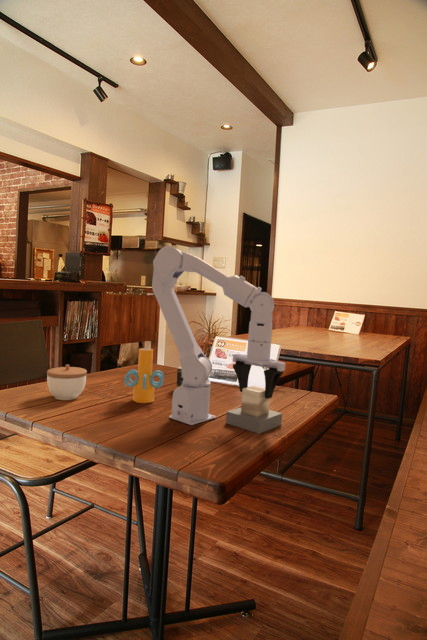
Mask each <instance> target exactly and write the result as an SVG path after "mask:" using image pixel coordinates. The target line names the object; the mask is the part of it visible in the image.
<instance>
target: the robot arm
mask: <svg viewBox="0 0 427 640" xmlns="http://www.w3.org/2000/svg"><path fill="white" fill-rule="evenodd" d="M152 264H153V273H152V280H151V281H152V282H151V289H152V292H153V294H154V296H155V298H156V301H157V303H158V306H159V308H160V310H161V313H162V315H163V317H164V319H165V322H166V324H167V326H168V329H169V331H170V334H171V336H172V338H173V340H174V343H175V345H176V348H177V350H178V353H179V356H178V359H179V363H180V365H181V366H180V367H182V377H183V379H184V380H183V382H182V385H181V386H180V387H178V388H175V389H174V390H173V391H172V400H171V401H172V402H171V414H170V415H169V416H168V418H170V419H172V420H175V421H179V422H181V423H183V424H186V425H189V426H194V425H197V424H199V423H203V422H207V421H210V420H213V419H216V418H217V417H216V415H214V414H210V398H211V397H210V395H211V384H212V383H211V381H210V379H209V377H208V376H210V375H211V373H212V370H213V364H212V362H211V360H210V359H209V358H208V357H207V356H206V355H205V353H204V352H203V349H202V348H201V347H200V345H199V344H198V343H197V340H196V338H195V336H194V334H193V331H192V328H191V327H190V324H189V322H188V319H187V317H186V315H185V312H184V310H183V307H182V306H181V302H180V299H179V298H178V295H177V294H176V292H175V285H176V283H177V282H178V279H179V278H180V276H181V275H182V274H183V273H184V272H186V273H196V274H197V275H200V276H202V277H204V278H205V279H207V280H209V281H210V282H212V283H214V284H215V285H217V286H219V287H221V288H222V291H223V295H224V296H226V297H227V298H229V299H230V300H232V301H233V302H236V303H237V304H239V305H241V306H242V307H244V308H249V309H250V311H251V312H250V321H249V324H248V335H247V337H248V340H247V348H246V349H247V352H246V354H240V353H234V354H232V363H233V362H234V364H232V368H233V370H234V372H235V375H236V378H237V381H238V386H239V391H240V393H242V390H243V388H246V387H249V385H248V384H249V375H250V372H251V368H252V366H256V367H261V368H266V369H265V370H263V373H264V374H263V375H264V380H265V381H264V383H265V386H264V388H265V398H266V399H269V398H270V399H272V398H273V394H274V391H275V389H276V386H277V384H278V382H279V380H280V378H281V377H282V375H283V373H284V371H286V362H283V361H279V360H275V359H273V358H271V350H272V349H271V347H272V335H273V322H272V321H273V311H274V309H275V301H274V298H273V297H272V296H271V295H270V294H269V293H268V292H266V291H262V287H260V286H258V287H257V286H255V285H254V284H251V283H250V282H248V280H246V277H244V276H243V275H240V276H238V275H236V274H235V275H231V276H228V275H226V274H225V273H223V272H222V271H220V270H218V269H217V268H215V267H214V266H212V265H211V264H209V263H208V262H206V261H205V260H203V259H202V258H199V257H198V256H195V255H194V254H191V253H188V252H185V251H183V250H181V249H177V248H176V247H174V246H171V245H166V246H164V247H162V248H160V249H159V250H158V252H157V253H156V255H155V257H154V259H153V261H152Z"/></svg>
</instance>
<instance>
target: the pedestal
mask: <svg viewBox="0 0 427 640" xmlns="http://www.w3.org/2000/svg"><path fill="white" fill-rule="evenodd" d="M225 418H226V419H225V424H227V425H231V426H234V427H237V428H240V429H244V430H246V431H249V432H253V433H256V434H259V435H260V434H262V433H264V432H268V431H269V430H273V429H275V428H277V427H280V426H282V420H283V419H282V418H283V413H282V412H279V411H274V410H271V409H269V413H267V414H264V415H261V416H258V417H257V416H253V415H250V414H246V413H243V412H241V407H237V408H233V409H231V410H227V411H226V417H225Z"/></svg>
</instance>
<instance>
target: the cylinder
mask: <svg viewBox="0 0 427 640" xmlns="http://www.w3.org/2000/svg"><path fill="white" fill-rule="evenodd" d="M153 358H154V349H153V348H146V347H145V348H144V347H141V348H139V349H138V361H137V365H138V366H137V370H136V369H133V368H131V369H130V370H128V372H126V374H125V375H124V378H123V382H124V384H125V386H126V387H129V388H133V389H132V392H133V394H132V401H133V402H135V403H137V404H151V403H153V402H154V401H155V389H159V388H161V387H162V386H163V384H164V379H165V375H164V372H163V371H162V370H154V371H153V360H154V359H153ZM131 375H133V376H134V377H135V380H132V379H131ZM154 377H158V378H159V381H155V380H154Z"/></svg>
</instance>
